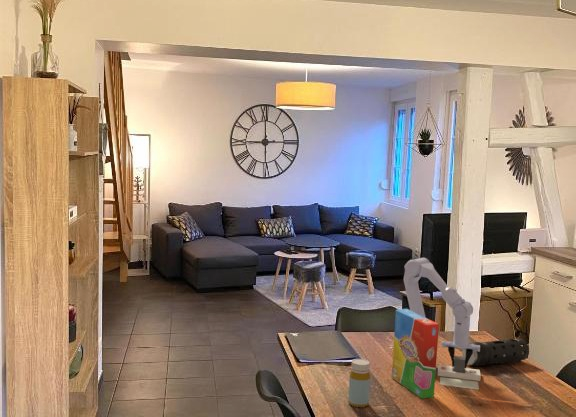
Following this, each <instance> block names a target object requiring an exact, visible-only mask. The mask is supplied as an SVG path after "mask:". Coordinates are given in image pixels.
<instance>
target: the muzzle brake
mask: <svg viewBox="0 0 576 417" xmlns="http://www.w3.org/2000/svg"><path fill="white" fill-rule="evenodd" d="M468 343H469V344H474V345H480V352H478V351H474V350H473V354H472V356H471V357H470V359H469V361H468V364H467V366H468V365H469V366H473V367H478V366H479V367H480V366H488V365H492V364H498V365H500V364H504V365H505V364H511V363H519V362H521V361H524V360H526V359H528V358H529V354H530V348H529V345H528V342H526V340H525V339H523V338H520V337H519V338H511V339H510V338H508V339H501V340H492V341H481V342H480V341H474V342H468ZM461 350H462V352H461V354H462V357H465V356H466V349H461Z"/></svg>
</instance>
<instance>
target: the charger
mask: <svg viewBox="0 0 576 417" xmlns="http://www.w3.org/2000/svg"><path fill="white" fill-rule="evenodd" d="M464 371H465V357H463V355H462V356H461V355H454V370H453V372H460V373H464Z"/></svg>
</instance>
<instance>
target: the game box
mask: <svg viewBox="0 0 576 417" xmlns="http://www.w3.org/2000/svg"><path fill="white" fill-rule="evenodd" d="M425 317H426V316H425ZM425 317H423V316H421V315H419V314H417V313H415V312H413V311H411V310H410V308H401V309H395V316H394V318H395V320H394V333H393V334H394V336H393V352H392V365H391V366H392V367H391V379H392V380H395V381H396V382H397V383H399V384H400V385H402V386H403V387H405V389H407V390H409V391H411V393H413V394H414V395H416V396H417V397H419V398H420V399H429V398H434V397H435V385H436V370H437V358H438V344H439V343H438V341H439V328H440V323H438V322H435V321H433V320H431V319H429V318H427V317H426V318H425Z"/></svg>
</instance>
